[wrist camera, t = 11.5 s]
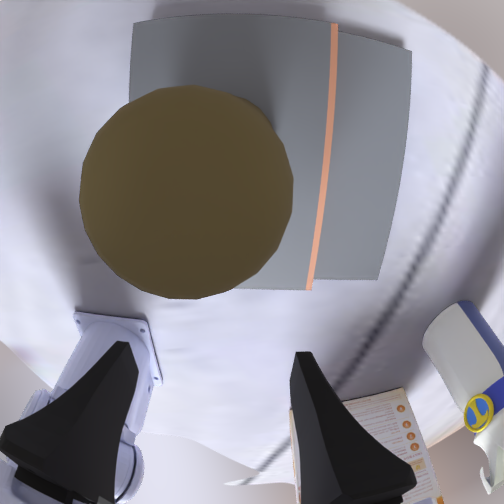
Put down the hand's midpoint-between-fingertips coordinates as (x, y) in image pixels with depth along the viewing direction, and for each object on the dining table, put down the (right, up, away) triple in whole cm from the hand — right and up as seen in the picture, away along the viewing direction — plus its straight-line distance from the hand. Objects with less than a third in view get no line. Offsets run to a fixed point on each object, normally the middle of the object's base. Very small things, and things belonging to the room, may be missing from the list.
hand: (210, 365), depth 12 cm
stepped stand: (+3, +11, +6) cm, 13 cm away
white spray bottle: (+24, -4, +14) cm, 28 cm away
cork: (0, +11, +3) cm, 11 cm away
